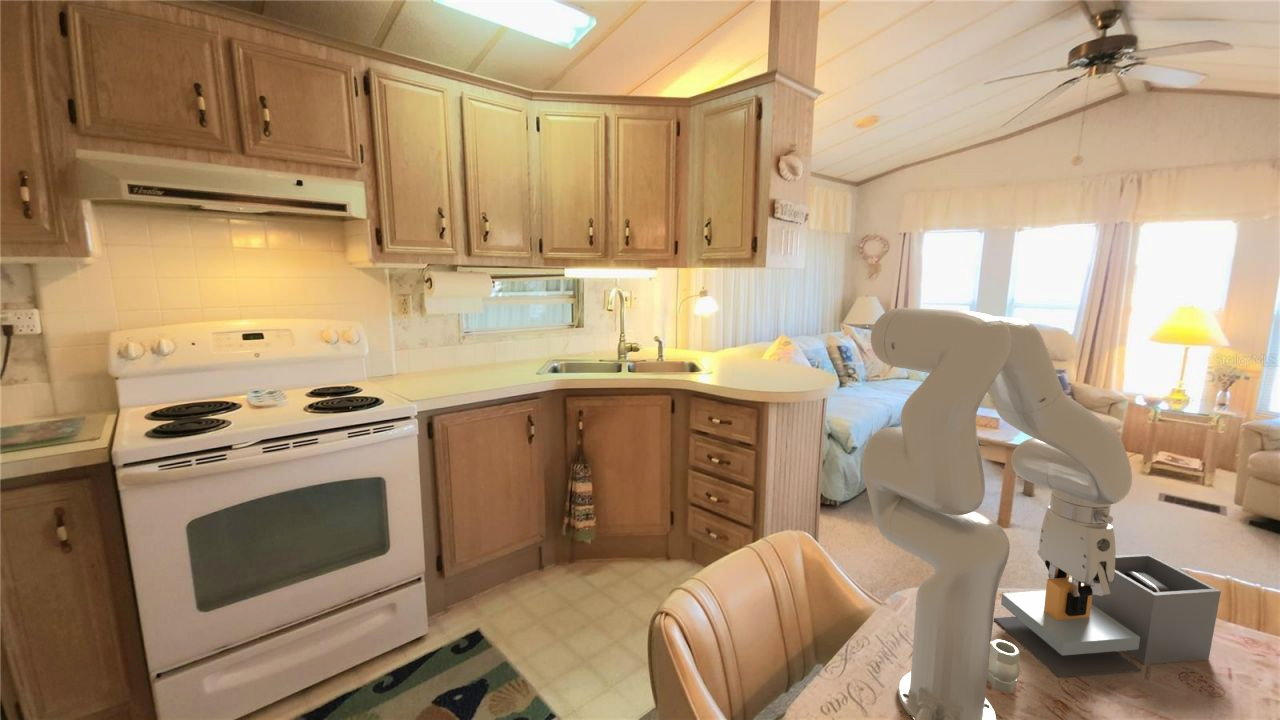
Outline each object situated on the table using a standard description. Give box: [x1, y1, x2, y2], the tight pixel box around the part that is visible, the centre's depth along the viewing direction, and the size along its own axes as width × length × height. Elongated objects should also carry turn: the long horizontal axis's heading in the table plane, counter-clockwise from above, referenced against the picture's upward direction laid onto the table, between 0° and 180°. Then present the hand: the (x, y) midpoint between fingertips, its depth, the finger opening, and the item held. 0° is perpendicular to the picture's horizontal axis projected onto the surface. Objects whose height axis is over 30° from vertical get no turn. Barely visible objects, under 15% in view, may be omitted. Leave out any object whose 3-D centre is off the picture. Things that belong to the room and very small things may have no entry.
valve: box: [987, 639, 1021, 694], centre depth 85 cm, size 7×7×12 cm
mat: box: [993, 616, 1142, 678], centre depth 90 cm, size 14×14×1 cm
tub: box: [1091, 553, 1222, 666], centre depth 90 cm, size 11×11×12 cm
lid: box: [1000, 576, 1140, 655], centre depth 89 cm, size 13×13×8 cm
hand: (1067, 607), depth 89 cm, fingers closed on lid, 2 cm apart
